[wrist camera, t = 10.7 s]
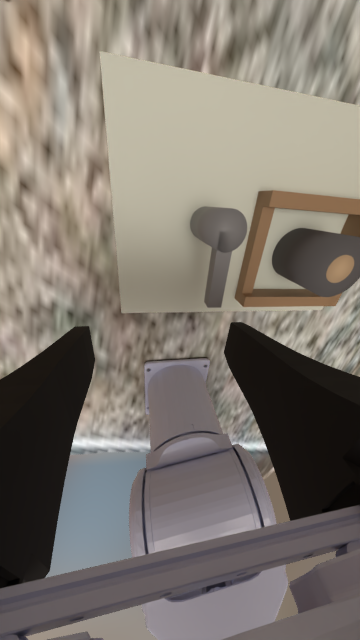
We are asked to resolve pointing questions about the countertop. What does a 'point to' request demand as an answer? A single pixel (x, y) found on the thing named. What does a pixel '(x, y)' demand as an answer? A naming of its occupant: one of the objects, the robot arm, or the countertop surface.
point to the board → (220, 185)
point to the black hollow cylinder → (318, 260)
